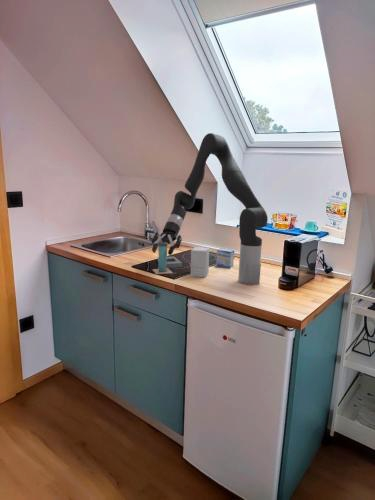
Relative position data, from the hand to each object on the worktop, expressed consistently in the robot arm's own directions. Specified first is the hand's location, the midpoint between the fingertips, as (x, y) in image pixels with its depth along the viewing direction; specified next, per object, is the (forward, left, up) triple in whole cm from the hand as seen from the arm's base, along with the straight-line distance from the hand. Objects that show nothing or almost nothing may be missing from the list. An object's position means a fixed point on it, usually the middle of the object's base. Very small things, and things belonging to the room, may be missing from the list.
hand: (161, 253), depth 177 cm
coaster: (+1, -1, -10) cm, 10 cm away
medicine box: (+4, -35, -10) cm, 37 cm away
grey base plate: (+13, -8, -10) cm, 18 cm away
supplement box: (-7, -17, -10) cm, 21 cm away
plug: (+1, -1, -9) cm, 9 cm away
